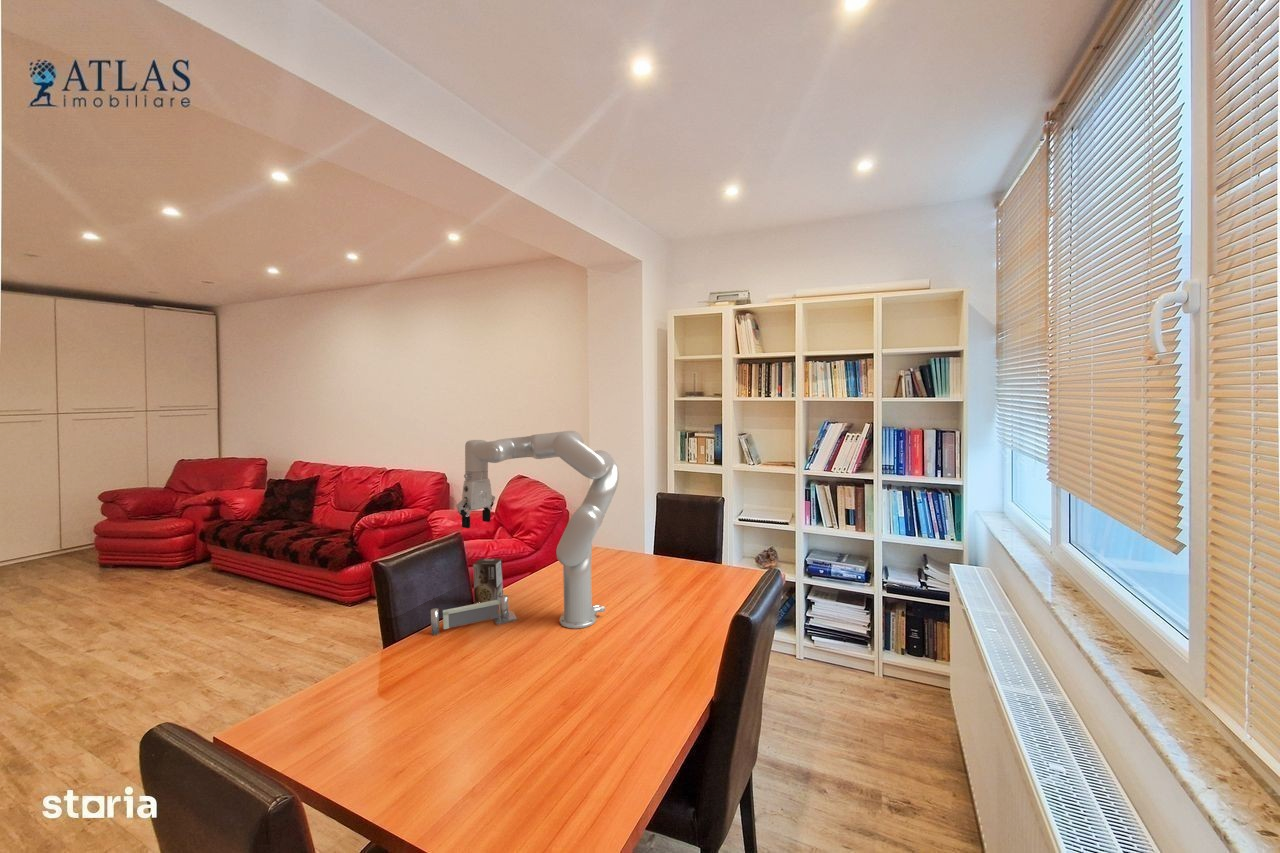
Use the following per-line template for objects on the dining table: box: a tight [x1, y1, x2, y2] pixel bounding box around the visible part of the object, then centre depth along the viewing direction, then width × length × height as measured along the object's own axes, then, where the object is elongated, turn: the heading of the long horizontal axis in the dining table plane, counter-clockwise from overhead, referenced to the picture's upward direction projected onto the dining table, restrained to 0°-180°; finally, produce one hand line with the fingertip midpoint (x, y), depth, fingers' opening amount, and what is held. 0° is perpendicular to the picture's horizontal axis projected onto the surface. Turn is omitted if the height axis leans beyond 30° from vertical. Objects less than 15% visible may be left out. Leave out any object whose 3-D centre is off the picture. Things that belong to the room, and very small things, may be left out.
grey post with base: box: [493, 594, 518, 626], centre depth 174 cm, size 7×7×8 cm
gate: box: [442, 600, 500, 630], centre depth 169 cm, size 18×2×6 cm, turn 118°
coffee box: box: [472, 558, 504, 605], centre depth 188 cm, size 9×6×16 cm
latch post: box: [430, 607, 440, 636], centre depth 164 cm, size 2×2×8 cm
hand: (476, 524), depth 174 cm, fingers open, 9 cm apart
